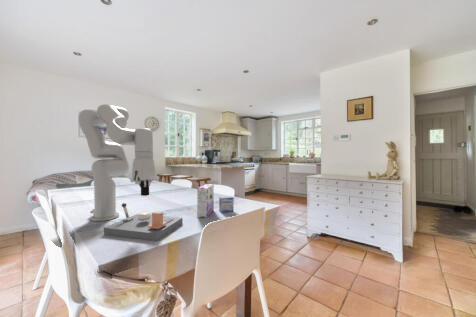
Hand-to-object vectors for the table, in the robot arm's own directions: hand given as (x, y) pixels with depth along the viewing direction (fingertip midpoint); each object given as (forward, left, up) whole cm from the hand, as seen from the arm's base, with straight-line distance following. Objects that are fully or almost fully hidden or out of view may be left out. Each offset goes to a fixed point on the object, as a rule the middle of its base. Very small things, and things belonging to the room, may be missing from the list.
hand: (145, 195), depth 90 cm
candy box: (+18, +28, -16) cm, 37 cm away
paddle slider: (+9, -4, -12) cm, 16 cm away
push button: (-1, 0, -11) cm, 11 cm away
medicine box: (+28, +36, -16) cm, 49 cm away
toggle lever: (-10, 0, -12) cm, 15 cm away
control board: (0, 0, -16) cm, 16 cm away
